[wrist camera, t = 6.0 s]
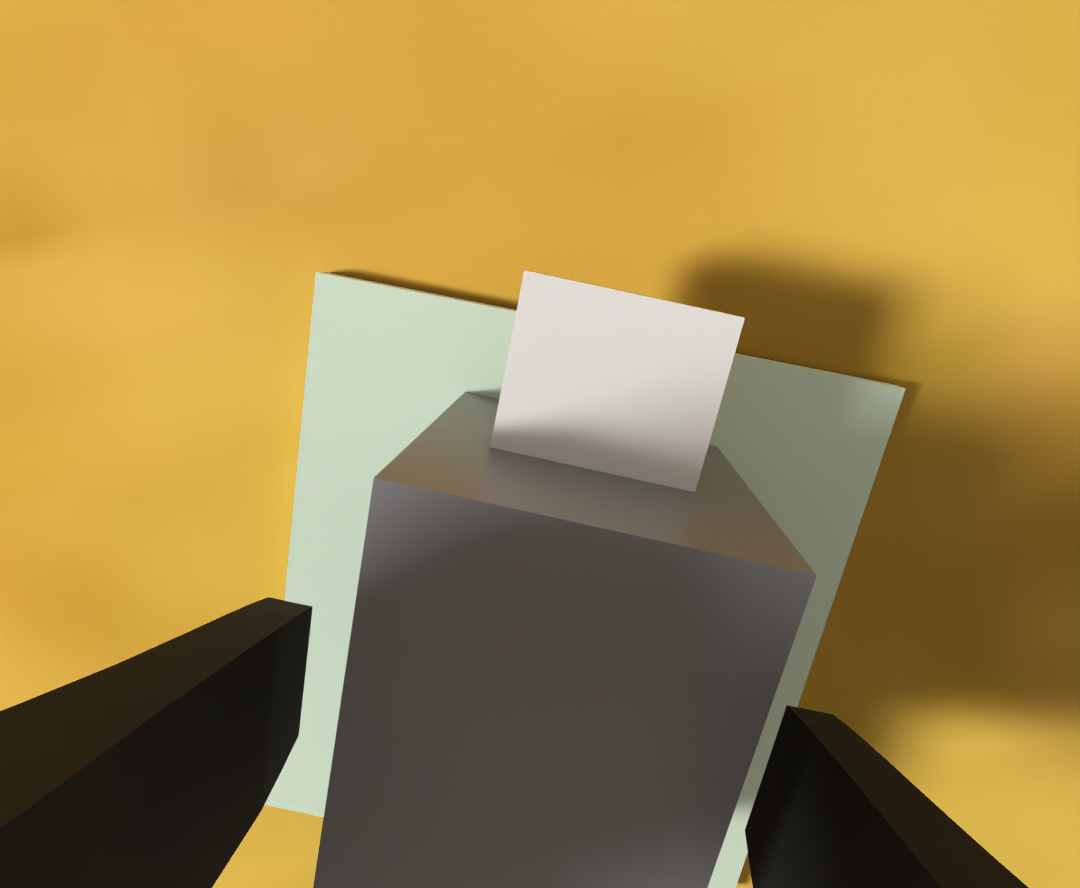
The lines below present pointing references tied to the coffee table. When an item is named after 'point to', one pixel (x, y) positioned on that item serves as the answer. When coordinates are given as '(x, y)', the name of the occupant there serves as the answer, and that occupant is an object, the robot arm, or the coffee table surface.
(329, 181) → the coffee table surface
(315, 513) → the mat
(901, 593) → the coffee table surface
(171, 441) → the coffee table surface
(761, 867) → the robot arm
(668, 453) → the grey power adapter
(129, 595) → the coffee table surface
